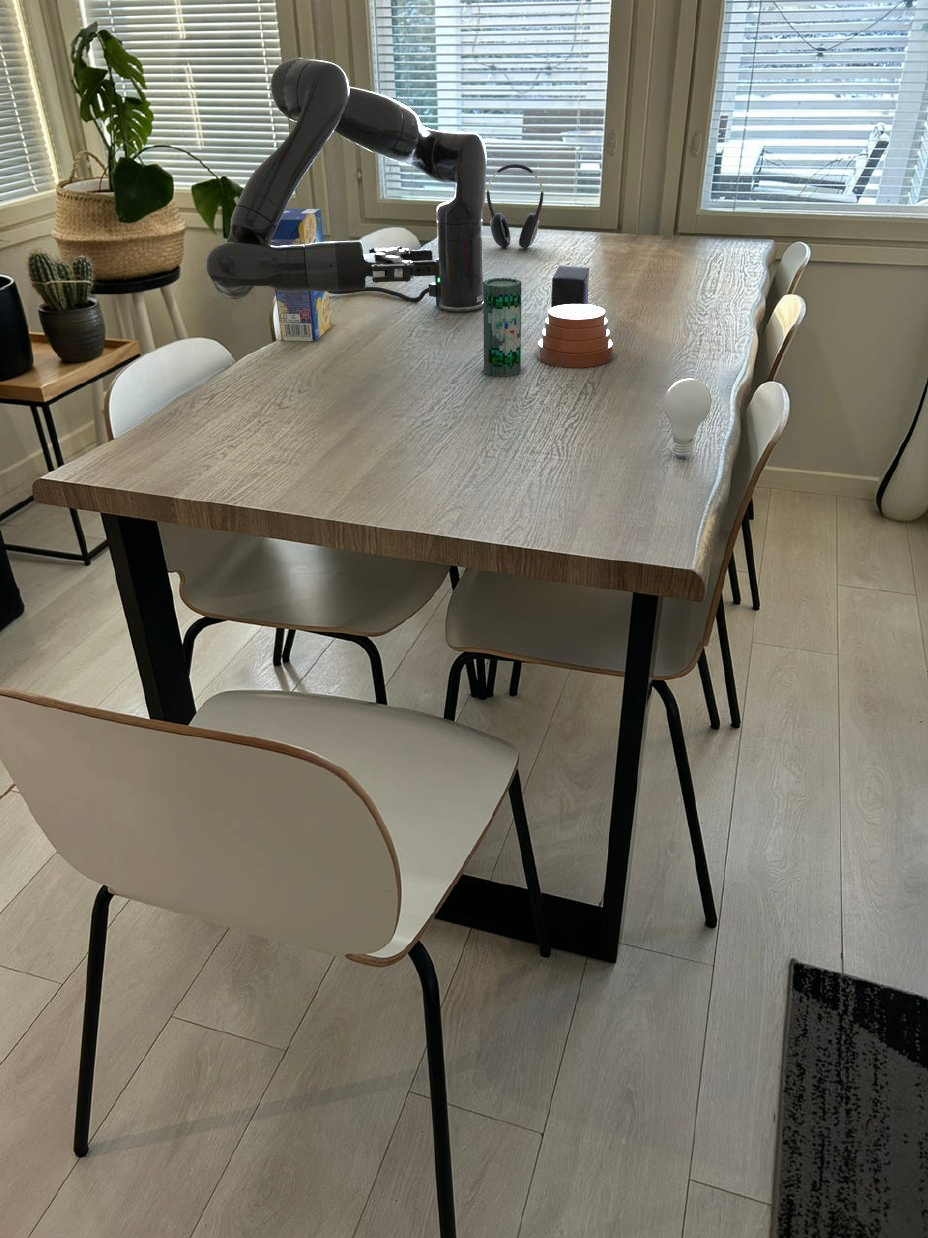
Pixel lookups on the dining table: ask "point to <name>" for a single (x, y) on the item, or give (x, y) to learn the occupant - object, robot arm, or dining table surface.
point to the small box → (570, 286)
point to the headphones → (500, 224)
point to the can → (502, 326)
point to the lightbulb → (686, 412)
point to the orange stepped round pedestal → (575, 337)
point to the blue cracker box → (301, 309)
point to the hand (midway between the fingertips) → (434, 261)
